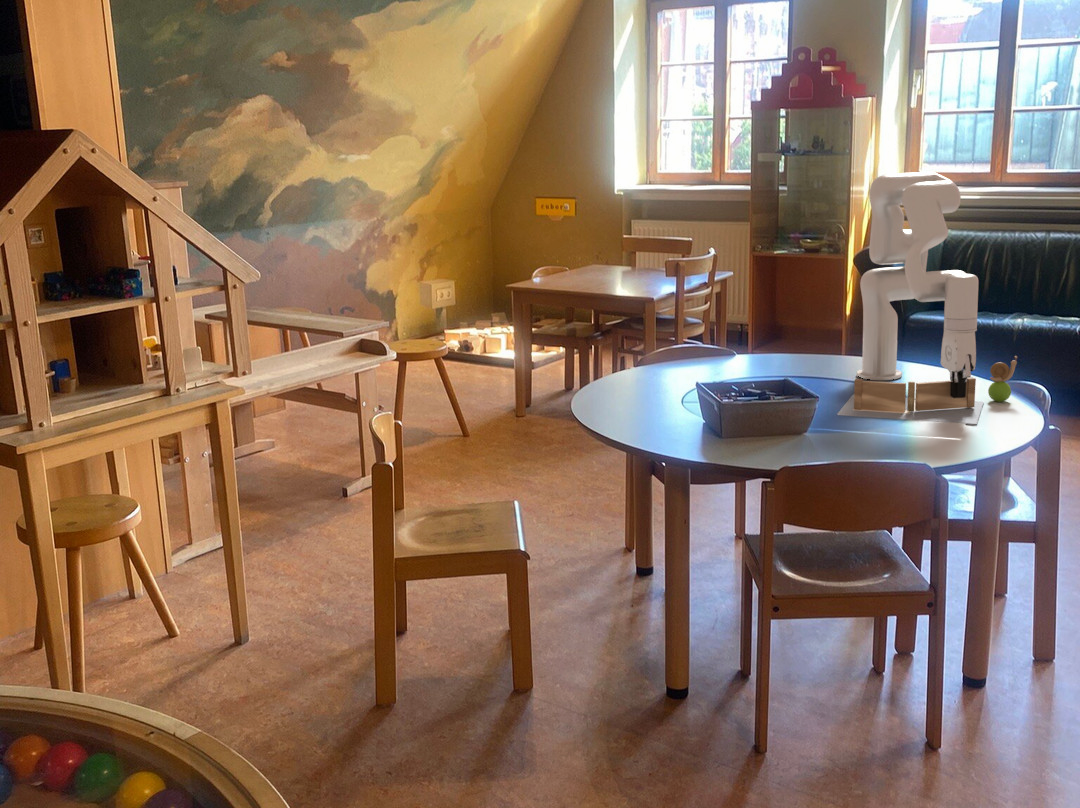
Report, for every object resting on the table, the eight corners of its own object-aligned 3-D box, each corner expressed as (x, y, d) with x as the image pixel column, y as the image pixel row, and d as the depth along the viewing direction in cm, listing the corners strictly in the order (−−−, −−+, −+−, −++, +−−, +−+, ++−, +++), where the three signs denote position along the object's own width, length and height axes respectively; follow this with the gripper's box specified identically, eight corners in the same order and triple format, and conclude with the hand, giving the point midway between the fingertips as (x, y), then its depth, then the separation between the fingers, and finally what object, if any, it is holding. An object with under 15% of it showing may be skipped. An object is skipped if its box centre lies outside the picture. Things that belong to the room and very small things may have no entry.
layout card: (852, 395, 281) (852, 394, 281) (983, 403, 266) (983, 401, 266) (836, 416, 262) (836, 414, 262) (976, 425, 247) (976, 423, 247)
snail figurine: (1016, 404, 264) (1019, 358, 261) (990, 404, 265) (992, 358, 262) (1011, 398, 269) (1014, 353, 266) (985, 398, 270) (988, 354, 267)
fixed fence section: (855, 407, 267) (855, 378, 265) (905, 411, 262) (906, 381, 260) (853, 409, 266) (854, 380, 264) (904, 412, 260) (905, 382, 258)
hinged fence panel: (906, 410, 261) (907, 381, 259) (971, 405, 262) (972, 377, 260) (909, 411, 259) (909, 383, 258) (974, 407, 260) (975, 378, 258)
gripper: (932, 321, 260) (930, 391, 264) (958, 330, 245) (956, 404, 250) (961, 319, 260) (959, 389, 264) (989, 328, 246) (986, 402, 250)
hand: (957, 396), depth 257 cm, fingers closed
